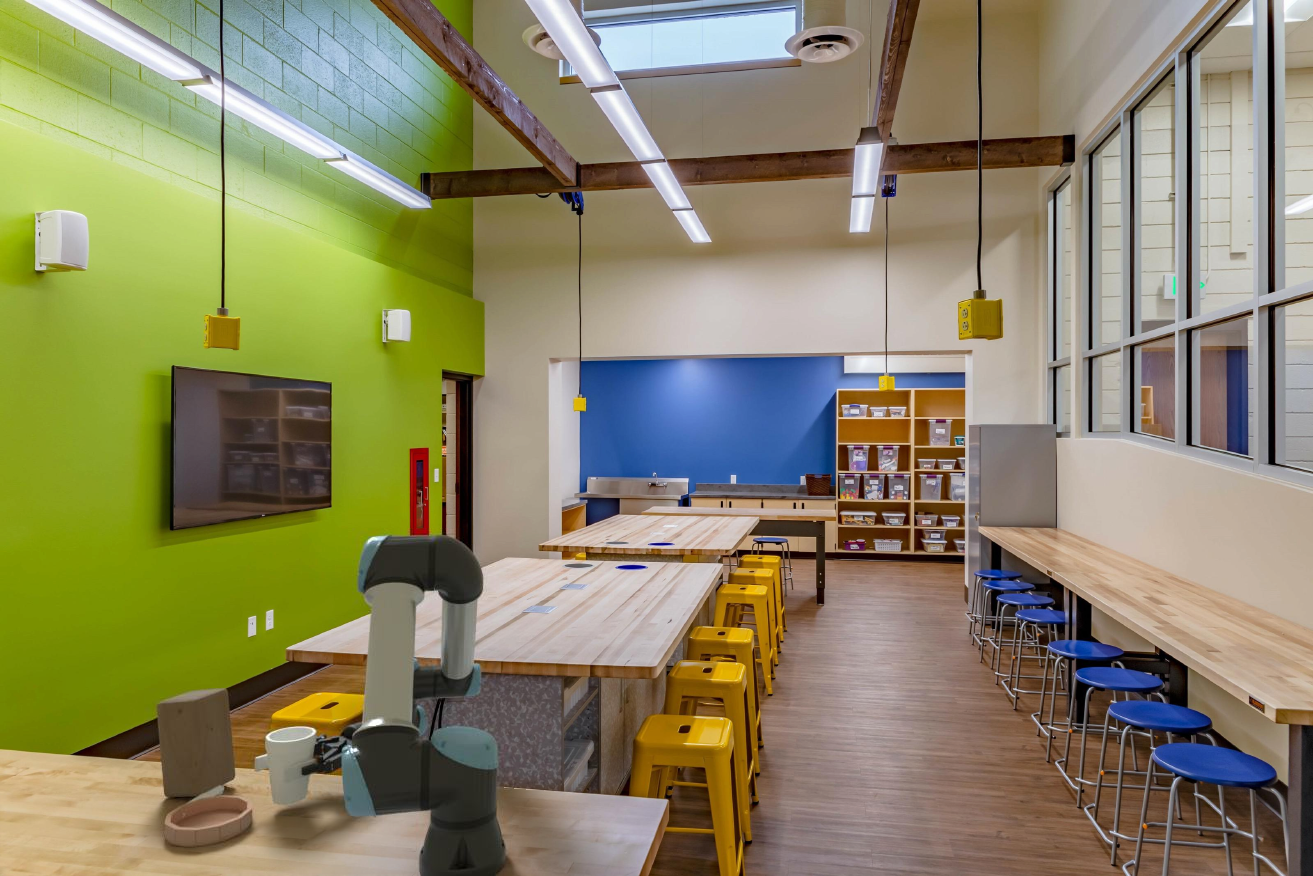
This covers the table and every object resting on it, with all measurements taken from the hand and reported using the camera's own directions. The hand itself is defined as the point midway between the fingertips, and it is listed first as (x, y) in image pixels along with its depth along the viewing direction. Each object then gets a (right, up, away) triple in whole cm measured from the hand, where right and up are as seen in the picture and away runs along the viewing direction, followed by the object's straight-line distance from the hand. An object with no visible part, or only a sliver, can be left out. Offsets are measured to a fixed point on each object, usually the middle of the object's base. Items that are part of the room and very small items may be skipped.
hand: (270, 770), depth 159 cm
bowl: (-9, -9, -5) cm, 14 cm away
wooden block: (-20, -9, +11) cm, 24 cm away
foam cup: (+2, -7, +4) cm, 8 cm away
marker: (-16, -9, +5) cm, 19 cm away
